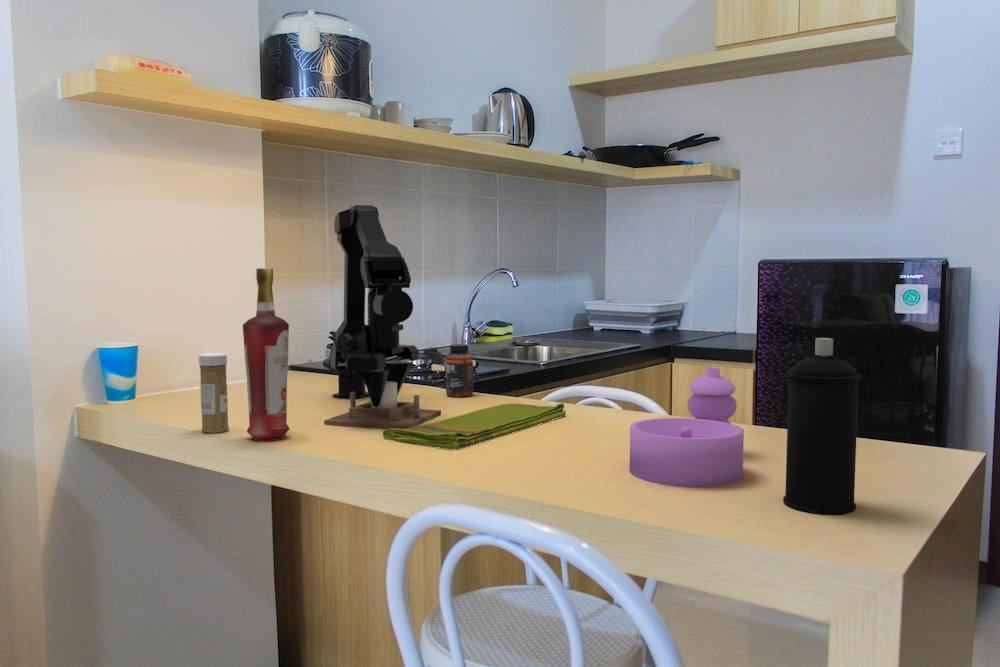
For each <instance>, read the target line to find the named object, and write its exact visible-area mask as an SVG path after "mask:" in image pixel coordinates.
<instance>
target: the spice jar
mask: <svg viewBox="0 0 1000 667" xmlns="http://www.w3.org/2000/svg"><path fill="white" fill-rule="evenodd" d="M227 356H228V355H227V353H225V352H205V353H200V354H199V356H198V365H199V368H200V369H199V370H200V372H199V374H200V387H199V389H200V411H201V423H202V426H201V431H202V432H203V433H206V434H207V433H208V434H219V433H224V432H226V431H228V430H229V429H230V427H229V415H228V414H229V413H228V411H229V404H228V403H229V402H228V385H227V364H228V357H227Z"/></svg>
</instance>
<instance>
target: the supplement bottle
mask: <svg viewBox="0 0 1000 667" xmlns="http://www.w3.org/2000/svg"><path fill="white" fill-rule="evenodd" d="M449 351H450V352H449V353H448V354H447V355H446V357H445V382H446V383H445V385H446V386H445V387H446V388H445V392H446V396H448V397H450V398H451V397H453V398H467V397H471V396H473V394H474V357H473V355H472V354H471V353H470V352H469V344H468V343H452V344H450V345H449Z"/></svg>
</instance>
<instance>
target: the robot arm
mask: <svg viewBox="0 0 1000 667" xmlns="http://www.w3.org/2000/svg"><path fill="white" fill-rule="evenodd" d="M379 215H380V214H379V209H378V207H377V206H374V205H369V204H368V205H367V204H365V205H364V204H363V205H361V204H359V205H358V204H354V205H352V206H350V208H349V209H345V210H342V211H340V212H338V213H337V215H336V216H335V218H334V223H333V226H334V229H333V230H334V233H335V235H336V238H337V239H336V241H337V242H338V244H339V246H340V247H341V249H342V251H343V253H344V265H343V266H344V268H343V269H344V272H343V273H344V274H343V278H344V279H343V282H344V283H343V320H342V322H341V323H340V326H339V327H338V328H337V330H336V331H335V341H333V343H332V347H331V353H330V367H331V369H333V370H334V371H335V370H338V392H336V393H333V394H332V397H333V398H335V397H336V398H349V399H350V392H356V399H360V398H363V397H367V396H368V397H369V399H370V401H371V402H372V405H373V406H374V407H378V406H379V405H380V402H381V398H382V395H383V391H384V387H385V384H386V381H392V382H397V397H398V396H399V393H400V390H401V389H402V386H403V384H404V382H405V380H406V379H407V376H408V374H409V372H410V370H411V368H412V367H413V365H414V363H413V362H414V361H417V360H418V361H419V355H420V354H419V348H417V346H416V345H414V344H400V331H403V330H404V324H402V323H403V322H405V321H407V320H408V319H409V318H410V317H411V316H412V314H413V310H414V302H413V300H412V297H411V296H410V295H409V294H408V293H407V292H406V291H404V290H403V289H410V287H411V281H412V278H411V274H410V272H409V270H410V269H409V267H408V263H407V262H406V260H405V258H404V257H403V256H402V253H401V251H400V250H399V247H397V246H396V245H394V244H392V243H391V242H388V240H387V236H386V235H385V232H384V230H383V226H382V224H381V222H380V216H379ZM366 289H368V291H367V324H366V321H365V318H366V313H365V312H366V311H365V310H366ZM407 360H409V361H410V362H407ZM366 389H367V391H366Z"/></svg>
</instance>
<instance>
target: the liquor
mask: <svg viewBox="0 0 1000 667" xmlns="http://www.w3.org/2000/svg"><path fill="white" fill-rule="evenodd" d="M255 271H256V272H255V275H256V276H255V277H256V278H255V279H256V283H257V284H256V285H257V299H256V301H257V302H256V312H255V314H256V315H255V316H253V317H251V318H249V319H247V321H246V322H244V323H243V324H242V332H243V333H242V336H243V352H244V364H245V373H246V374H245V375H246V384H247V386H246V388H247V403H248V424H249V426H248V428H247V430H246V432H247V434H249V435H250V436H251V437H252V439H254V440H255V441H268V442H270V441H276V440H281V439H283V437H284V436H285V435H286V434H287V433H288V432H289V431H290V426H289V425H288V421H287V420H288V419H287V418H288V416H287V415H288V414H287V413H288V410H287V408H288V406H287V403H288V402H287V401H288V367H289V366H288V365H289V337H290V336H289V335H290V334H289V332H290V331H289V330H290V329H289V328H290V324H289V323H288V322H287V321H286V320H285V319H283V318H282V317H279V316H277V315H276V311H275V302H274V301H275V300H274V295H273V283H274V268H256V269H255Z"/></svg>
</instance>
